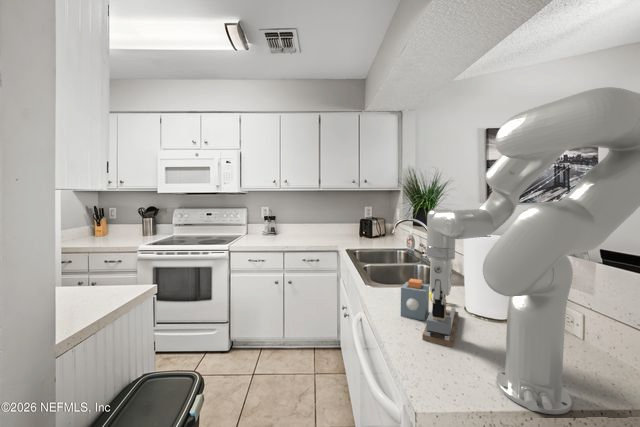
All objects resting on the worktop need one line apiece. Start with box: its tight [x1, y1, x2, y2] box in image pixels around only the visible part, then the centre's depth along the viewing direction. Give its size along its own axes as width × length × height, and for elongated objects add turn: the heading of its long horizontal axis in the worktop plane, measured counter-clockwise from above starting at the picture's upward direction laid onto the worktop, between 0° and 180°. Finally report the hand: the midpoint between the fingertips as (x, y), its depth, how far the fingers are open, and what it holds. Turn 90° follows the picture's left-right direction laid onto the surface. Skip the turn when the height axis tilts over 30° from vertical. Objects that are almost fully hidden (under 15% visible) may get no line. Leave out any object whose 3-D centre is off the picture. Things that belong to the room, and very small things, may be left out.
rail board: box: [422, 307, 459, 348], centre depth 90 cm, size 23×8×3 cm, turn 150°
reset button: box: [407, 278, 423, 289], centre depth 99 cm, size 4×4×3 cm
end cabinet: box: [400, 281, 430, 321], centre depth 99 cm, size 8×8×10 cm
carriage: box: [425, 294, 451, 335], centre depth 82 cm, size 6×6×10 cm
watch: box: [429, 291, 433, 303], centre depth 110 cm, size 6×3×6 cm, turn 88°
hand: (439, 314), depth 82 cm, fingers closed on carriage, 3 cm apart
